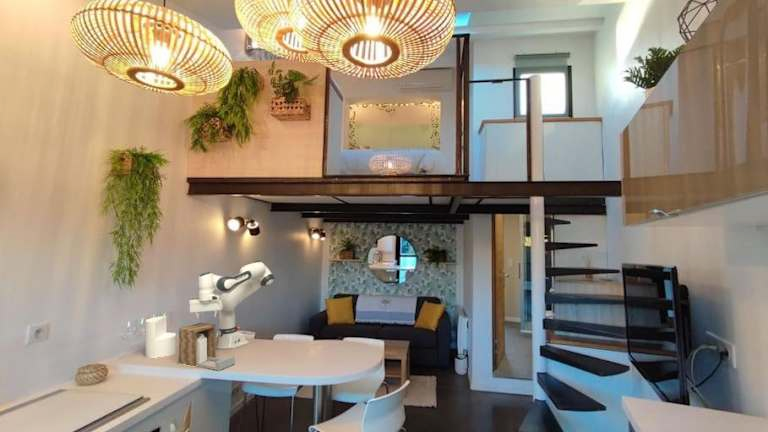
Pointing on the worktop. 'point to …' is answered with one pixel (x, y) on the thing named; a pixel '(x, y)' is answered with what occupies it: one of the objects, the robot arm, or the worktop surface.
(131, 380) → the worktop surface
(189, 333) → the shelf cubby
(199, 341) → the milk carton
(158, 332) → the white stepped block
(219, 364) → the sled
